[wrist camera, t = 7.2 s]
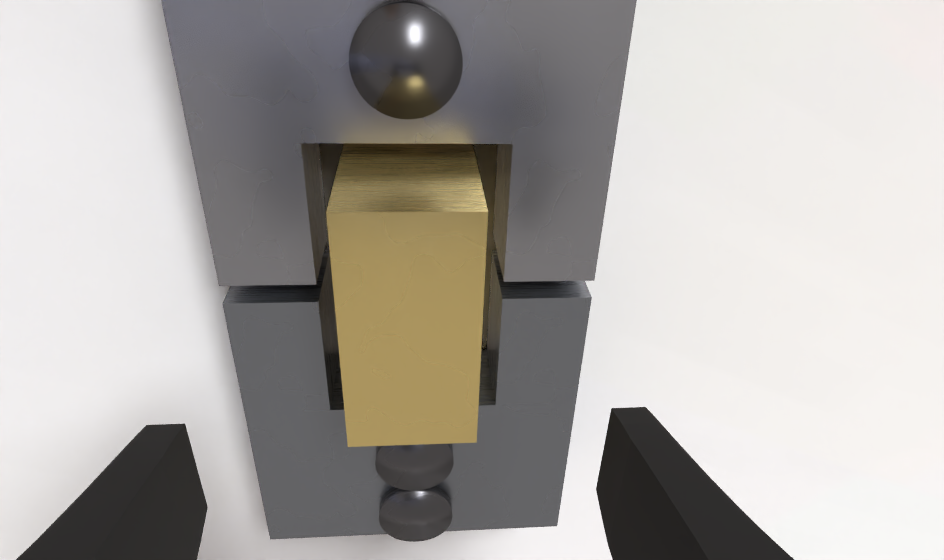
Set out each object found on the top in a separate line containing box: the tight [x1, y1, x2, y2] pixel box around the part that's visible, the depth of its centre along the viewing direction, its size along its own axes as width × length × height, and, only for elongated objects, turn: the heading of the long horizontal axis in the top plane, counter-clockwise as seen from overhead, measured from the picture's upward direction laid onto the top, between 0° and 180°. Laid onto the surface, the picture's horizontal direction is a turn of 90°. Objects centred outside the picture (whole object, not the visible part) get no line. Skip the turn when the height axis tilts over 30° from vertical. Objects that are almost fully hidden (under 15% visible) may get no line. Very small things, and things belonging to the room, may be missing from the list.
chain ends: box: [161, 0, 637, 541], centre depth 17 cm, size 18×9×3 cm, turn 178°
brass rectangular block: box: [326, 143, 488, 447], centre depth 16 cm, size 6×3×5 cm, turn 178°
